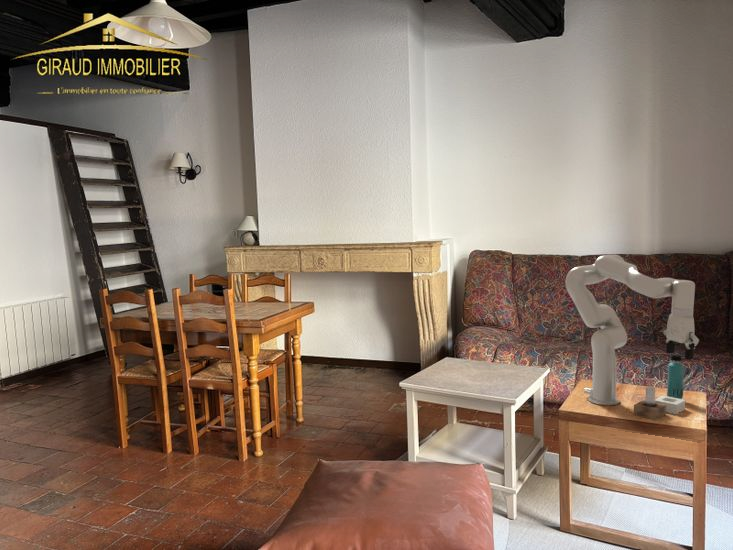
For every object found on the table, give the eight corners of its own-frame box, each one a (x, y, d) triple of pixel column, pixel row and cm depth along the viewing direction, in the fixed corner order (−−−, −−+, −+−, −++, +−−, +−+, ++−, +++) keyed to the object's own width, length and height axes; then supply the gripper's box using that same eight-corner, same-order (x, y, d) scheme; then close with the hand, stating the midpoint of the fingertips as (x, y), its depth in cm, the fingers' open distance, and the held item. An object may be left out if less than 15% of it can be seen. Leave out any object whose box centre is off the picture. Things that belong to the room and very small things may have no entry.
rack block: (653, 409, 252) (653, 400, 251) (662, 404, 258) (662, 395, 258) (676, 414, 245) (676, 404, 245) (684, 409, 251) (685, 399, 251)
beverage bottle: (671, 403, 260) (672, 356, 258) (663, 398, 266) (664, 353, 265) (686, 402, 260) (688, 356, 258) (677, 398, 267) (679, 353, 265)
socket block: (633, 414, 246) (633, 404, 245) (643, 409, 252) (643, 400, 252) (656, 419, 239) (656, 409, 239) (665, 414, 245) (666, 404, 245)
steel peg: (643, 414, 246) (644, 387, 245) (647, 412, 248) (647, 386, 247) (652, 416, 243) (653, 389, 242) (655, 414, 246) (656, 387, 244)
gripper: (657, 309, 243) (655, 351, 245) (691, 316, 226) (688, 362, 228) (673, 308, 244) (671, 350, 246) (707, 316, 228) (704, 360, 230)
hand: (679, 355), depth 237 cm, fingers open, 9 cm apart
